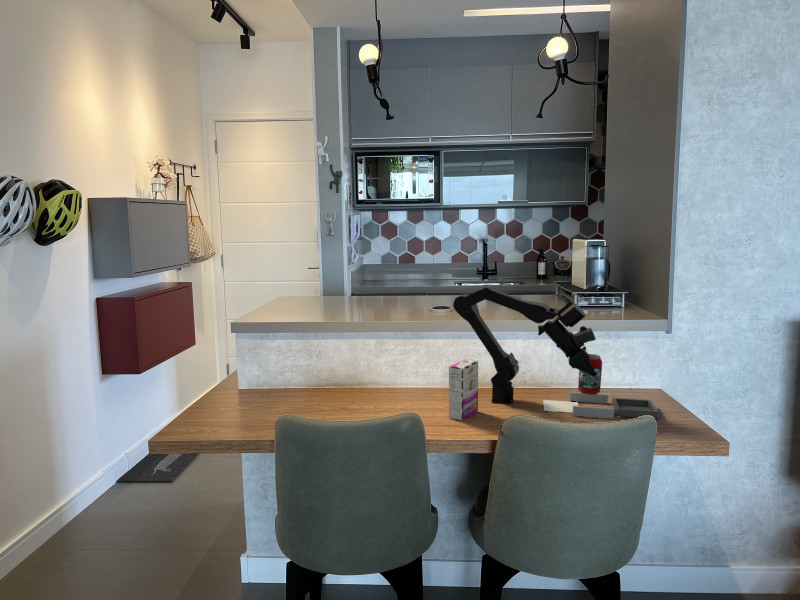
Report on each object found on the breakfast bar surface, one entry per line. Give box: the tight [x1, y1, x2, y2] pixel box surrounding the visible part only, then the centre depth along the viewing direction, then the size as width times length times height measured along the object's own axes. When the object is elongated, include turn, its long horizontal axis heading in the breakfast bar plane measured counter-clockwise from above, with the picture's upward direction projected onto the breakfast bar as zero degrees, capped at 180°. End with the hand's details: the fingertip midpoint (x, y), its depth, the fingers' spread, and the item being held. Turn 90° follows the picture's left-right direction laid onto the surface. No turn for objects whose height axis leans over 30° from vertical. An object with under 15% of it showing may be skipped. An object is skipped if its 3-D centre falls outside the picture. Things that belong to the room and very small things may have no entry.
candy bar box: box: [448, 358, 479, 422], centre depth 187 cm, size 11×5×16 cm, turn 148°
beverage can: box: [577, 353, 603, 395], centre depth 192 cm, size 7×7×12 cm
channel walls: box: [568, 391, 615, 420], centre depth 193 cm, size 12×16×3 cm
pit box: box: [610, 397, 659, 420], centre depth 191 cm, size 12×12×2 cm
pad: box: [542, 399, 580, 414], centre depth 195 cm, size 11×11×1 cm
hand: (594, 372), depth 192 cm, fingers closed on beverage can, 7 cm apart
